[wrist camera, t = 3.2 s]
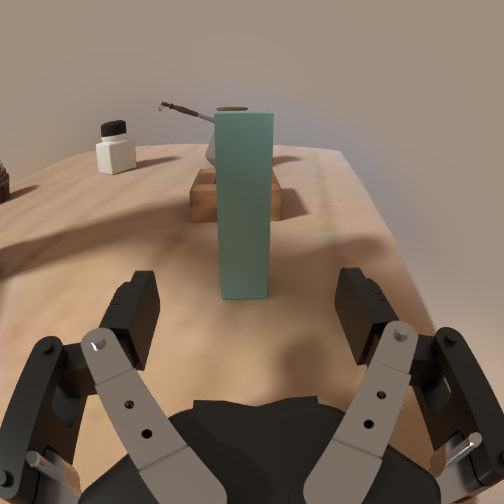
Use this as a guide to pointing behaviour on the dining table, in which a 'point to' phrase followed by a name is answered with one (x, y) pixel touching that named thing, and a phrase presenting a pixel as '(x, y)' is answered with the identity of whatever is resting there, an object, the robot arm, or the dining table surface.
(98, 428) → the dining table surface
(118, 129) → the medicine bottle
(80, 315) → the dining table surface
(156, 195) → the dining table surface
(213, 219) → the brown square slotted piece
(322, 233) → the dining table surface
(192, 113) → the coffee pot
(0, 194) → the cupcake
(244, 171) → the peg
